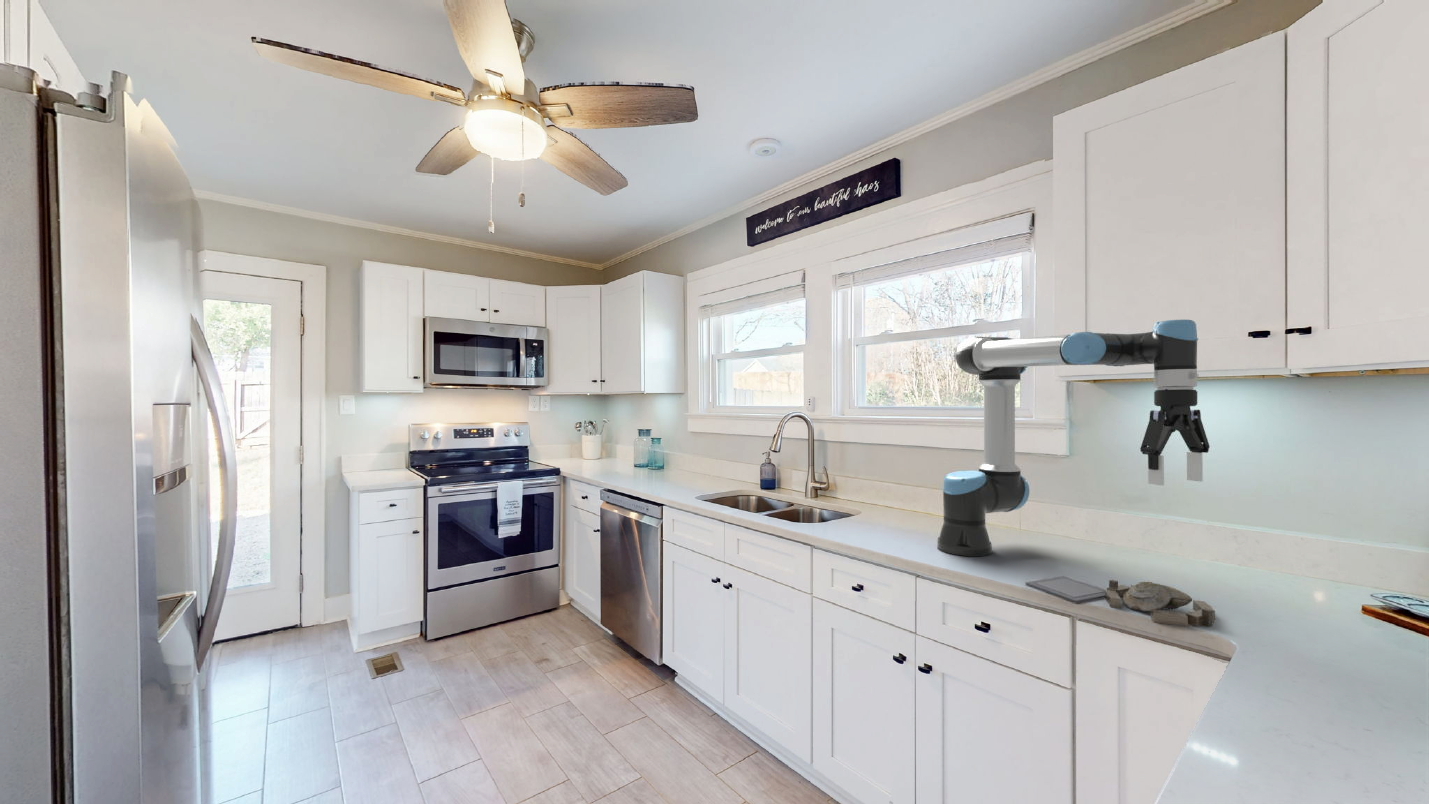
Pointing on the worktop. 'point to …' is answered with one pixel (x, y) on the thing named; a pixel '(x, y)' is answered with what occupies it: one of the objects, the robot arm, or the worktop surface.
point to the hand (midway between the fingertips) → (1175, 482)
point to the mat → (1068, 589)
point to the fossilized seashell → (1154, 597)
